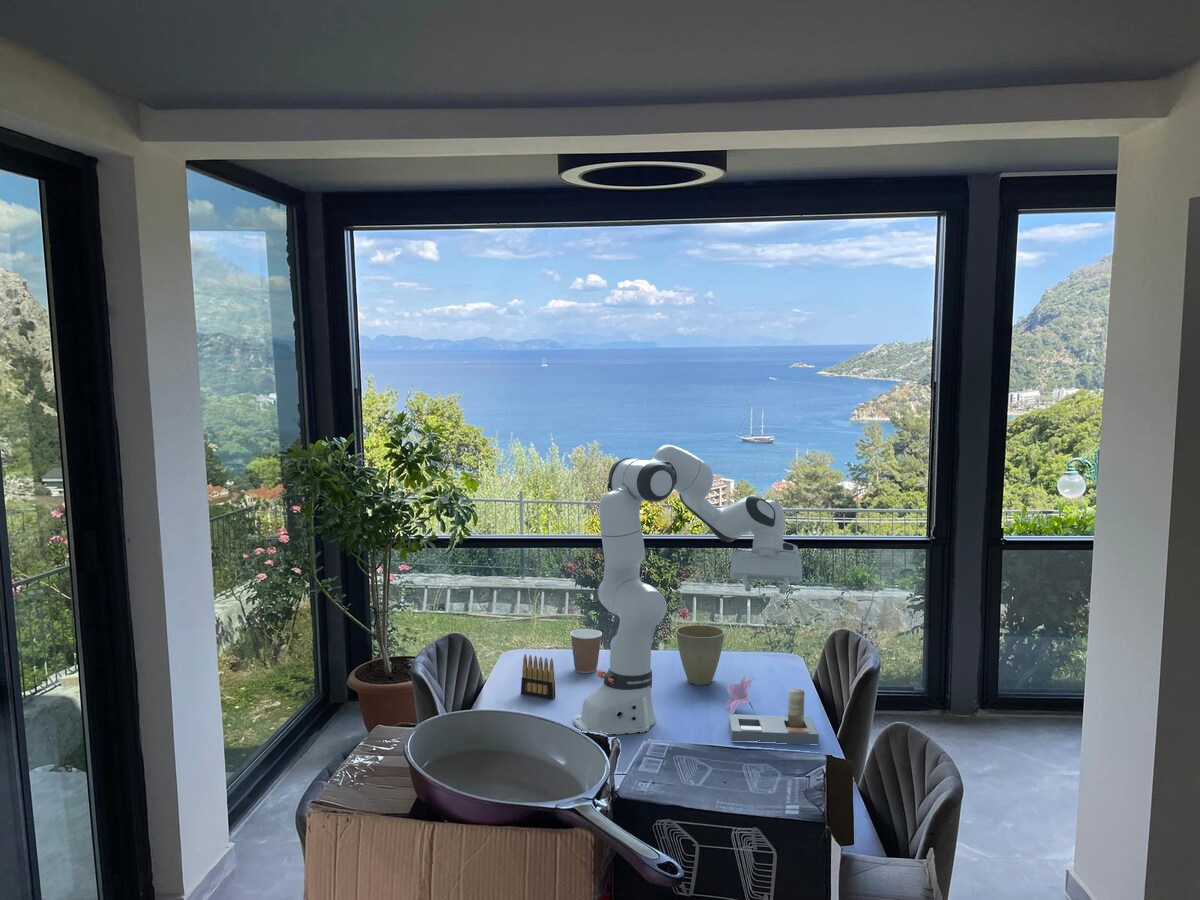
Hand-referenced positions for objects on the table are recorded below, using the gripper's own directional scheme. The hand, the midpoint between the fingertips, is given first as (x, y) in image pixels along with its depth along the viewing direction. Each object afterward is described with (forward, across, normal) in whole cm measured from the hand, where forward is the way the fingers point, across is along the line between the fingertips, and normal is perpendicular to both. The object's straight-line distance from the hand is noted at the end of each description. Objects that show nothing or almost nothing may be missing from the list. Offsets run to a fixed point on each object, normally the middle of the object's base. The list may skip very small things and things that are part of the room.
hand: (764, 591), depth 249 cm
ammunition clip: (+28, -65, +21) cm, 74 cm away
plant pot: (+9, -21, +40) cm, 46 cm away
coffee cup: (+9, -58, +40) cm, 71 cm away
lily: (+25, -6, +24) cm, 35 cm away
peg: (+36, +10, +13) cm, 39 cm away
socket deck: (+36, +4, +12) cm, 38 cm away
